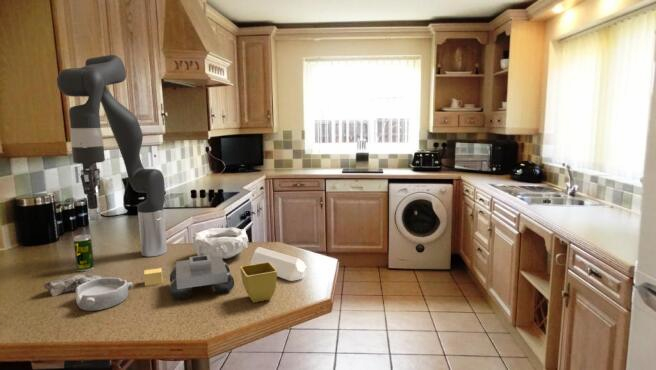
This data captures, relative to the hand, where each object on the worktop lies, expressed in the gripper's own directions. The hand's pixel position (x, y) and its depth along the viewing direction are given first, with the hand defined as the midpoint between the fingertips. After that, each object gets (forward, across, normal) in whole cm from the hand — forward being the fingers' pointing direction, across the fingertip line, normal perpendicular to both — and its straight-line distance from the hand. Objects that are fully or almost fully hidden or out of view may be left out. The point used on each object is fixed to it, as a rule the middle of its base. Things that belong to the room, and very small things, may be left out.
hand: (94, 207), depth 114 cm
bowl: (+28, -26, +36) cm, 52 cm away
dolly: (+28, +2, +27) cm, 39 cm away
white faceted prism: (+28, -3, +52) cm, 59 cm away
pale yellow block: (+28, -9, +13) cm, 32 cm away
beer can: (+28, -32, -10) cm, 43 cm away
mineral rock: (+28, -14, -10) cm, 33 cm away
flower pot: (+28, +16, +42) cm, 53 cm away
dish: (+28, 0, 0) cm, 28 cm away
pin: (+4, 0, 0) cm, 4 cm away
